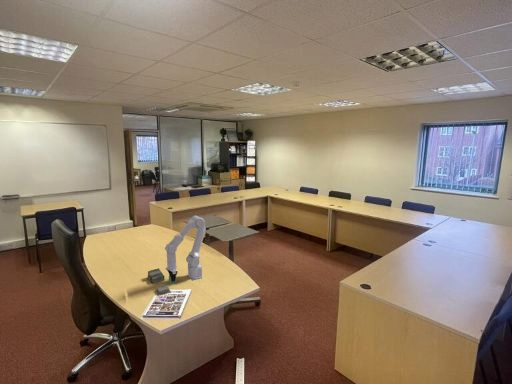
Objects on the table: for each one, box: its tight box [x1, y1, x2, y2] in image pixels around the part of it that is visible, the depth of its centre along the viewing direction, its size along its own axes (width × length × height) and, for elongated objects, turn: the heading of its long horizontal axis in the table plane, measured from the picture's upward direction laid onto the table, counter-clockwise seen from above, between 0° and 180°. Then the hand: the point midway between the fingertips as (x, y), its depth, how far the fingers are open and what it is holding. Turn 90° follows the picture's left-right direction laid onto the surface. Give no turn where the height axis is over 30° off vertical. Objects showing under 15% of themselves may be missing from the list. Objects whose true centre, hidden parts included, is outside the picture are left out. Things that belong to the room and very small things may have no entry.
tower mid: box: [156, 284, 170, 295], centre depth 172 cm, size 6×6×2 cm
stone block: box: [147, 268, 165, 284], centre depth 189 cm, size 9×14×5 cm, turn 34°
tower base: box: [155, 286, 172, 297], centre depth 172 cm, size 8×8×2 cm
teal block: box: [168, 276, 177, 285], centre depth 184 cm, size 4×4×4 cm
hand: (172, 280), depth 184 cm, fingers closed on teal block, 4 cm apart
